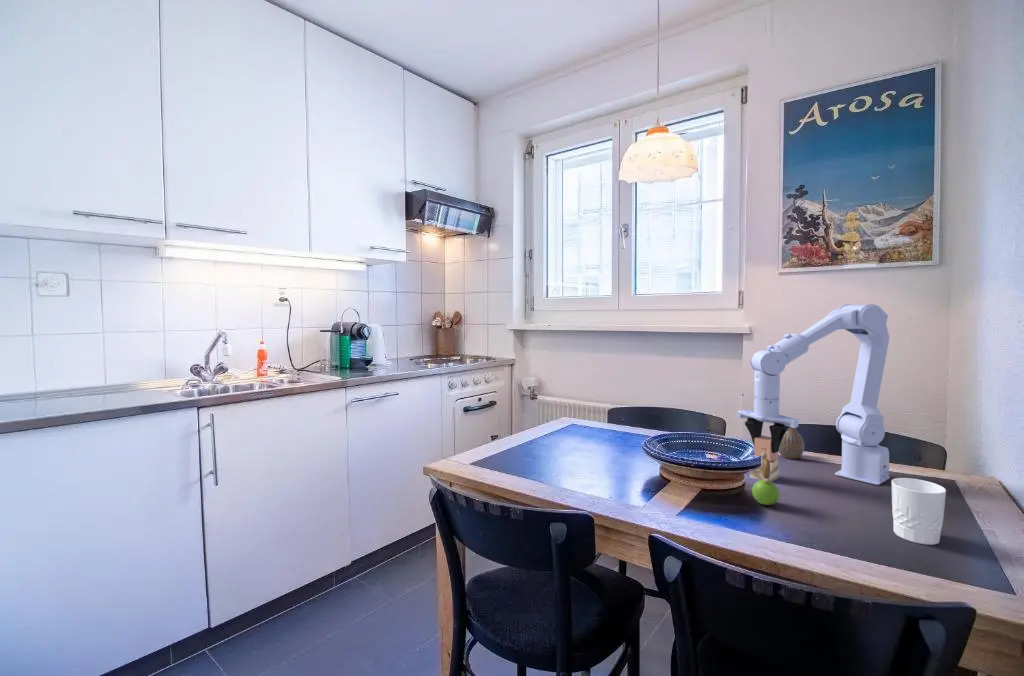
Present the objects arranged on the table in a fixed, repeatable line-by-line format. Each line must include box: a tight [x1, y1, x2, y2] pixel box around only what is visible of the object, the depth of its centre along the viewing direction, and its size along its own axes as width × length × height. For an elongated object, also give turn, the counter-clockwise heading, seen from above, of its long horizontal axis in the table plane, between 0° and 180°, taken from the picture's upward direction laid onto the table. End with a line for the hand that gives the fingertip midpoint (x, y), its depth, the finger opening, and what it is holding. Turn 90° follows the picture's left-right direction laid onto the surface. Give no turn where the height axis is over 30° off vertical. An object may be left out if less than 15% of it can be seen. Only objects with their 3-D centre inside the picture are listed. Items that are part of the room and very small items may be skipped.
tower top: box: [756, 458, 779, 474], centre depth 123 cm, size 5×5×2 cm
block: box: [753, 434, 779, 461], centre depth 123 cm, size 4×4×5 cm
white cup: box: [891, 477, 947, 546], centre depth 91 cm, size 8×8×10 cm
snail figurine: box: [751, 447, 780, 506], centre depth 107 cm, size 5×6×12 cm
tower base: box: [749, 469, 780, 482], centre depth 123 cm, size 5×5×2 cm
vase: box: [778, 427, 805, 460], centre depth 139 cm, size 7×7×9 cm
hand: (765, 450), depth 123 cm, fingers closed on block, 4 cm apart
